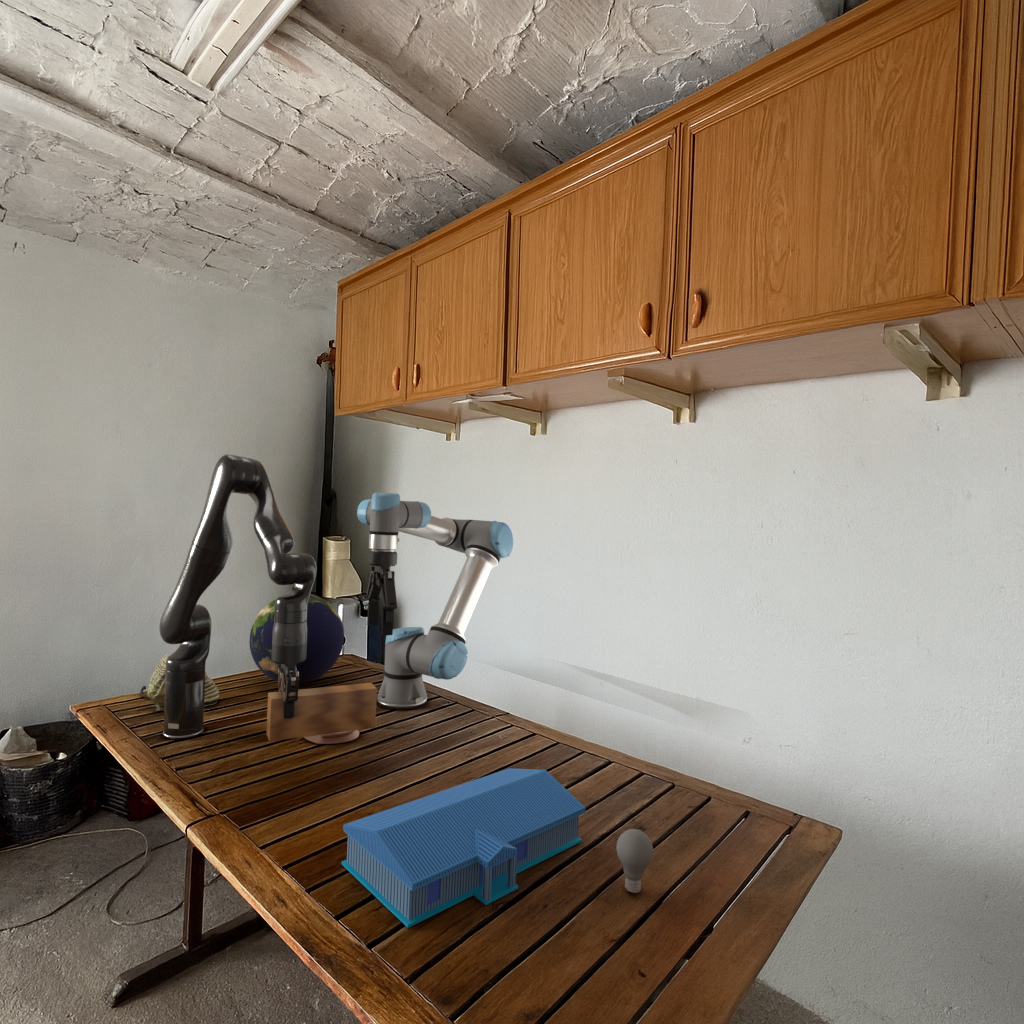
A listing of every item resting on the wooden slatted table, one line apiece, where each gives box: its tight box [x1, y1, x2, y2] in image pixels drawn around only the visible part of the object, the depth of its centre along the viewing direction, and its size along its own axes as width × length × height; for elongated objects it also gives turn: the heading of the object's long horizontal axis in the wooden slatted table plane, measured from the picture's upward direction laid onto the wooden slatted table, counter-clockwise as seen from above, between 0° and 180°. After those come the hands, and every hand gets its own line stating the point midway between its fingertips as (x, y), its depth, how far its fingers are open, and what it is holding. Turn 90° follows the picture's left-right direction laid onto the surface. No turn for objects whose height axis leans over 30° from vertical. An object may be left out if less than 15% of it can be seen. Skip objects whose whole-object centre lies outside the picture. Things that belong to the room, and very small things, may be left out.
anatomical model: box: [303, 730, 360, 745], centre depth 167 cm, size 13×4×12 cm
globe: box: [248, 593, 345, 685], centre depth 212 cm, size 30×30×30 cm
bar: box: [265, 682, 378, 742], centre depth 149 cm, size 24×5×10 cm, turn 119°
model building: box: [341, 767, 586, 929], centre depth 114 cm, size 39×24×10 cm, turn 132°
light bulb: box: [615, 828, 654, 894], centre depth 106 cm, size 6×6×10 cm
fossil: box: [146, 654, 221, 712], centre depth 185 cm, size 9×18×15 cm, turn 132°
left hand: (286, 713), depth 145 cm, fingers closed on bar, 5 cm apart
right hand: (379, 630), depth 169 cm, fingers open, 13 cm apart
